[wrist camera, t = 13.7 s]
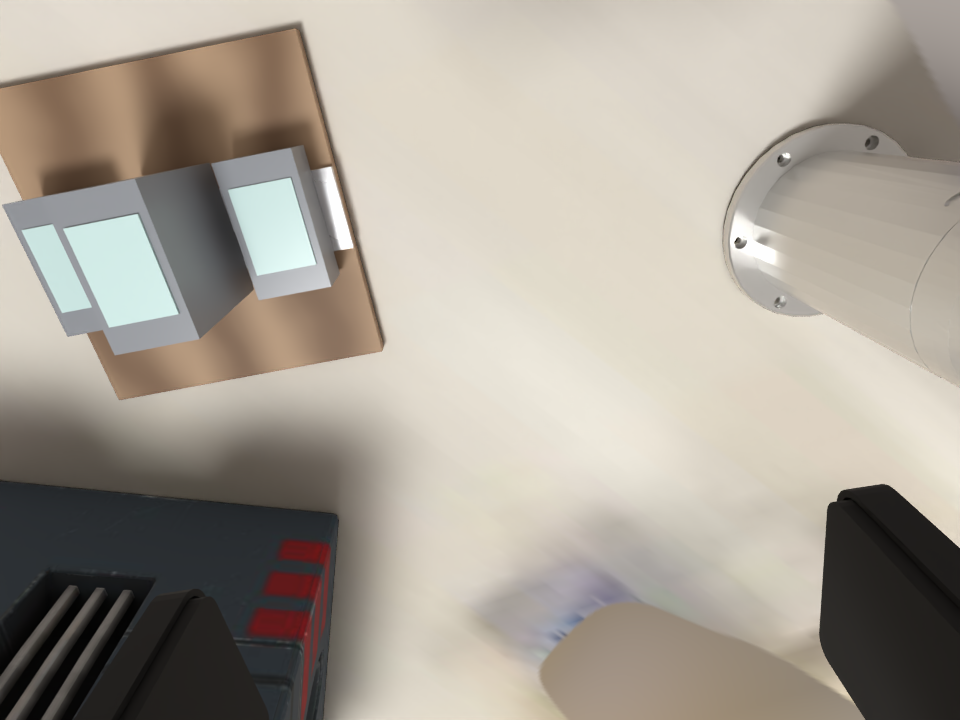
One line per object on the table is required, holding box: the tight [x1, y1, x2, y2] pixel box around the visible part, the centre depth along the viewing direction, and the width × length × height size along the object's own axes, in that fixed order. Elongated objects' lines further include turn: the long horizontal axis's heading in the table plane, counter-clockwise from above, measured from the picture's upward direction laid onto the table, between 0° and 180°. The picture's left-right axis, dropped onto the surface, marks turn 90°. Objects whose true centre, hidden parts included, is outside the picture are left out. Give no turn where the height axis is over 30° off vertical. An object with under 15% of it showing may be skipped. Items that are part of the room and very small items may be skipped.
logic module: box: [40, 163, 254, 355], centre depth 32 cm, size 4×8×9 cm, turn 10°
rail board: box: [0, 28, 384, 400], centre depth 36 cm, size 19×20×5 cm
